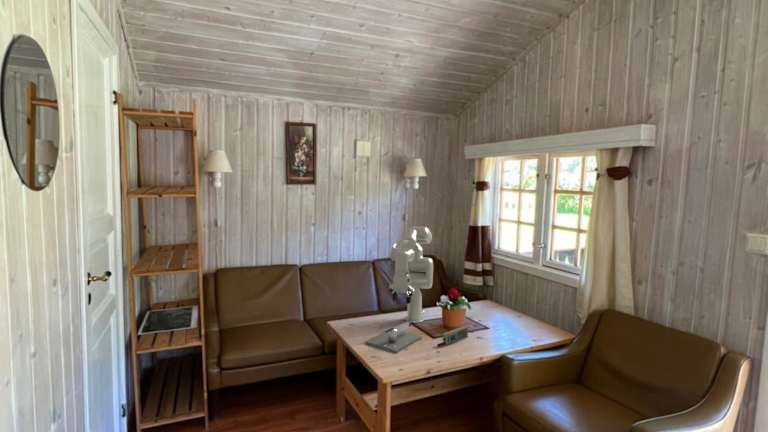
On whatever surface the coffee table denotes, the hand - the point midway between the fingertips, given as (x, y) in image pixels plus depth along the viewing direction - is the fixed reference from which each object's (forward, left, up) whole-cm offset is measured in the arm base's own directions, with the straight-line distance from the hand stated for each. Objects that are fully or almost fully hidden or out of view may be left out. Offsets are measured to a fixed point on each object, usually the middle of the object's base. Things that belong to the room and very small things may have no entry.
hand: (401, 301), depth 246 cm
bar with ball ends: (-1, -3, -22) cm, 22 cm away
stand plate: (+1, -5, -24) cm, 25 cm away
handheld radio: (-19, +23, -25) cm, 39 cm away
